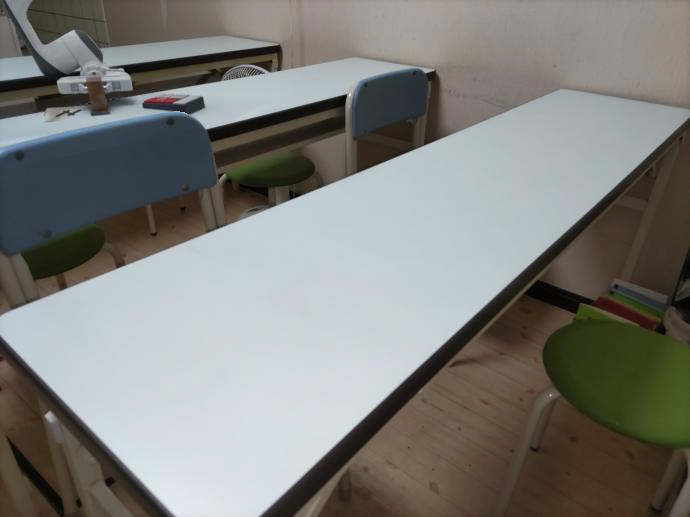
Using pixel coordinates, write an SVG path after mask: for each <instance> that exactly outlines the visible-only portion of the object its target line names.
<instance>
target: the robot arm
mask: <svg viewBox="0 0 690 517" xmlns="http://www.w3.org/2000/svg"><path fill="white" fill-rule="evenodd" d="M33 1H34V0H0V2H1V4H2V7H3V8H4V10H5V13H6V14H7V17H9V19H10V21H11V23H12V25H13V26H14V28H15V29H16V31H17V33H18V35H19V36H20V38H21V39H22V41H23V42H24V44H25V46H26V48H27V49H28V51H29V53H30V55H31V56H32V58H33V61H34V63H35V65H36V67H37V69H38V70H39V72H40V73H41V75H43V76H44V77H45V78H46V79H49V80H52V81H56V84H57V85H56V86H57V88H58V89H57V90H58V93H59V94H60V95H61V94H62V95H72V94H84V95H85V94H89V93H88V89H87V84H86V77H101V79H102V83H103V90H104V93H105V95H106V94H111V93H114V92H130V91H133V82H132V78H131V76H130V74H129V73H127V72H125V69H124V68H122V67H111V66H108V65H107V64H106V63H105V62H104V54H103V51H102V50H101V49H100V47H99V45H98V43H97V42H96V41H95V40H94V39H93V37H92V36H90V34H89V33H88V32H85V31H83V30H80V29H75V28H74V29H73V30H71V31H68V32H67V33H65V34H63V35H62V36H60V37H59V38H56V39H55V40H53V41H50V42H49V43H48V44H44V43H42V42H41V40H40V38H39V36H38V35H37V33H36V31H35V29H34V28H33V26H32V24H31V22H30V21H29V19H28V15H27V12H28V9H29V7H30V5H31V4H32V3H33ZM78 69H80V71H79V72H80V73H79V75H76V76H74V75H73V76H69V75H70V74H72V73H73V72H75V71H77V70H78Z"/></svg>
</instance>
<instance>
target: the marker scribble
mask: <svg viewBox="0 0 690 517" xmlns="http://www.w3.org/2000/svg"><path fill="white" fill-rule="evenodd" d="M69 111H70V110H67V111H65V110H63V112H62V113H60V114H58V115H56V116H57V117H58V116H60V115H62V114H64V113H68V116H69V117H71V116H76V114H77V113H79V112H82V110H81V109H79V110H77V111H75V112H72V113H70V112H69ZM76 112H77V113H76ZM74 113H75V114H74ZM70 115H71V116H70Z"/></svg>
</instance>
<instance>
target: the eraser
mask: <svg viewBox="0 0 690 517" xmlns="http://www.w3.org/2000/svg"><path fill="white" fill-rule="evenodd" d="M86 84H87V89H88V93H87V94H88V97H89V102H90V106H89V108H90V109H89V110H90V116H91V117H96V116H105V115H107V116H108V115H110V114H111V111H110V103H109V102H107V98H106V94H105V93H104V90H103V83H102V79H101V77H86Z"/></svg>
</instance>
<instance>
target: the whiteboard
mask: <svg viewBox="0 0 690 517" xmlns="http://www.w3.org/2000/svg"><path fill="white" fill-rule="evenodd" d="M87 108H90V105H75V106H61V107H60V106H59V107H58V106H57V107H46V108H45V110H44V114H43V121H42V123H44V124H45V123H55V122H62V121H64V120H66V119H67V118H69V117H71V116H72V115H70V116H68V113H64V114H62V115H60V116H58V117H57V116H56V115H58V114H60V113H62V112H63V110H65V111H67V110H70V111H69V112H70V113H72V112H75V111H77V110H79V109H81V111H84V110H86V109H87ZM77 113H78V112H76V113H74V114H75V115H76V114H77Z"/></svg>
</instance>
